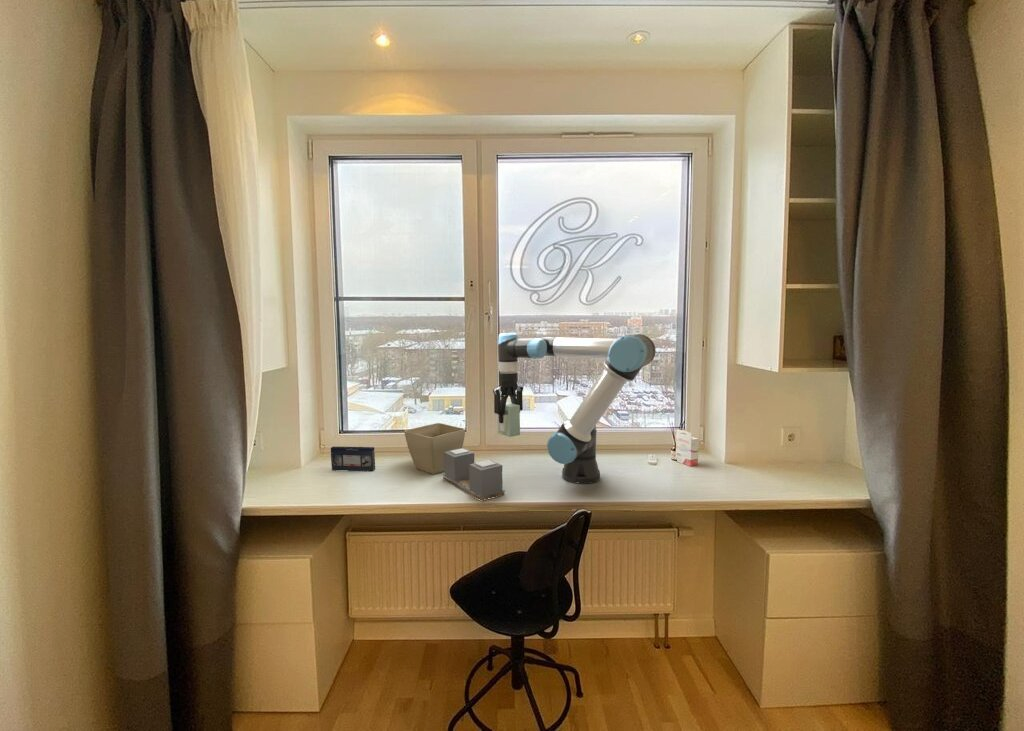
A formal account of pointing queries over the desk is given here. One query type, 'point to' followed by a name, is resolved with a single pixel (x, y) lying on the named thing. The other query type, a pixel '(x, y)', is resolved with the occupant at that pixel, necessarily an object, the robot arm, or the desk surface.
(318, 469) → the desk surface
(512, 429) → the block
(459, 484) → the rail board
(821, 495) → the desk surface
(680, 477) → the desk surface
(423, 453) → the flower pot
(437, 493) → the desk surface
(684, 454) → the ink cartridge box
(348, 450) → the vhs cassette tape
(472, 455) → the mounted modules
